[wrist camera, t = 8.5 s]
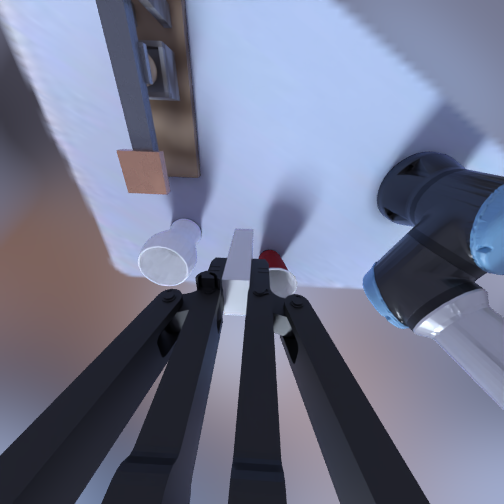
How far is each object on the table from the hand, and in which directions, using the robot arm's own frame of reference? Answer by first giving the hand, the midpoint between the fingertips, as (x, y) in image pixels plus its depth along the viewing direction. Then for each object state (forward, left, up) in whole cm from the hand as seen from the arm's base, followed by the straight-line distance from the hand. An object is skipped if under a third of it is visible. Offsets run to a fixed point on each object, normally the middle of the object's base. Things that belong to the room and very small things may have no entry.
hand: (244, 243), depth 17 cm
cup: (+16, +15, -32) cm, 38 cm away
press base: (+16, -12, -31) cm, 37 cm away
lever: (+16, -10, -21) cm, 29 cm away
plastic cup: (-6, +22, -32) cm, 39 cm away
